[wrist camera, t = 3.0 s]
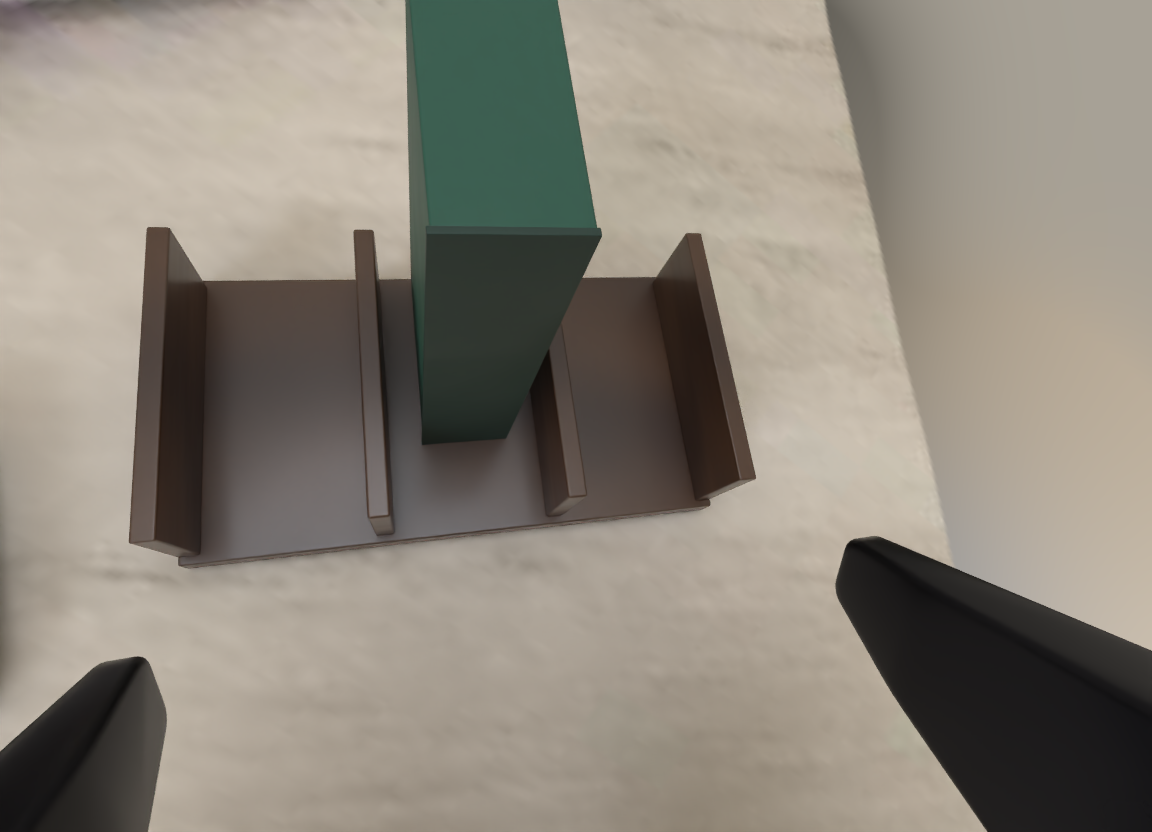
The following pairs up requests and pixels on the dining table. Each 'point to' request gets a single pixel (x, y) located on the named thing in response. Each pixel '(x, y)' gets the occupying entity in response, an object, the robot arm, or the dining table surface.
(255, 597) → the dining table surface
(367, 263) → the book rack
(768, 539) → the dining table surface
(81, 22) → the dining table surface
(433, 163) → the green rectangular block
